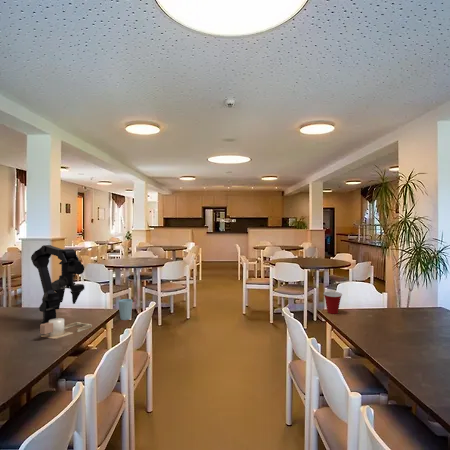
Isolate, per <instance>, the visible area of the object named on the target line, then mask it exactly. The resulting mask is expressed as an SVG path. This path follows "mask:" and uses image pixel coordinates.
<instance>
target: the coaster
mask: <svg viewBox="0 0 450 450" xmlns="http://www.w3.org/2000/svg"><path fill="white" fill-rule="evenodd" d="M73 334H74V332H72V331H66V330H64V335H62V336H57V337H50V336H49V333H47V334H42V335H40V337H42V338H45V339H51V340H52V339H53V340H58V339H61V338H65V337H66V336H70V335H73Z"/></svg>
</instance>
